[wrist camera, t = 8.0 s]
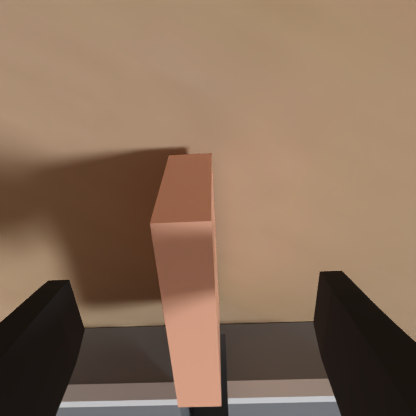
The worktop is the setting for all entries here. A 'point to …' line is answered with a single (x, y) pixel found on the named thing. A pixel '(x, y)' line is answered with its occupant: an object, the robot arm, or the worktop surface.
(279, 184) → the worktop surface
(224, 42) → the worktop surface
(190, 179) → the salmon pink slab
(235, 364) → the dispenser
